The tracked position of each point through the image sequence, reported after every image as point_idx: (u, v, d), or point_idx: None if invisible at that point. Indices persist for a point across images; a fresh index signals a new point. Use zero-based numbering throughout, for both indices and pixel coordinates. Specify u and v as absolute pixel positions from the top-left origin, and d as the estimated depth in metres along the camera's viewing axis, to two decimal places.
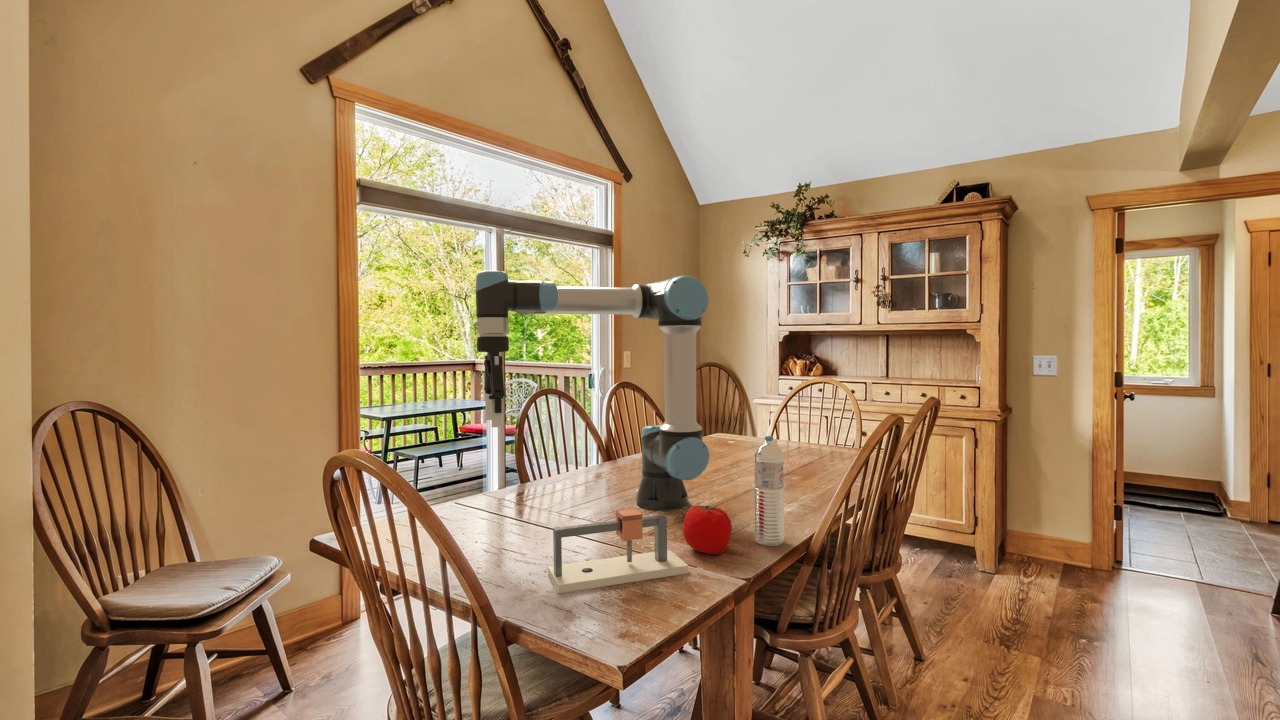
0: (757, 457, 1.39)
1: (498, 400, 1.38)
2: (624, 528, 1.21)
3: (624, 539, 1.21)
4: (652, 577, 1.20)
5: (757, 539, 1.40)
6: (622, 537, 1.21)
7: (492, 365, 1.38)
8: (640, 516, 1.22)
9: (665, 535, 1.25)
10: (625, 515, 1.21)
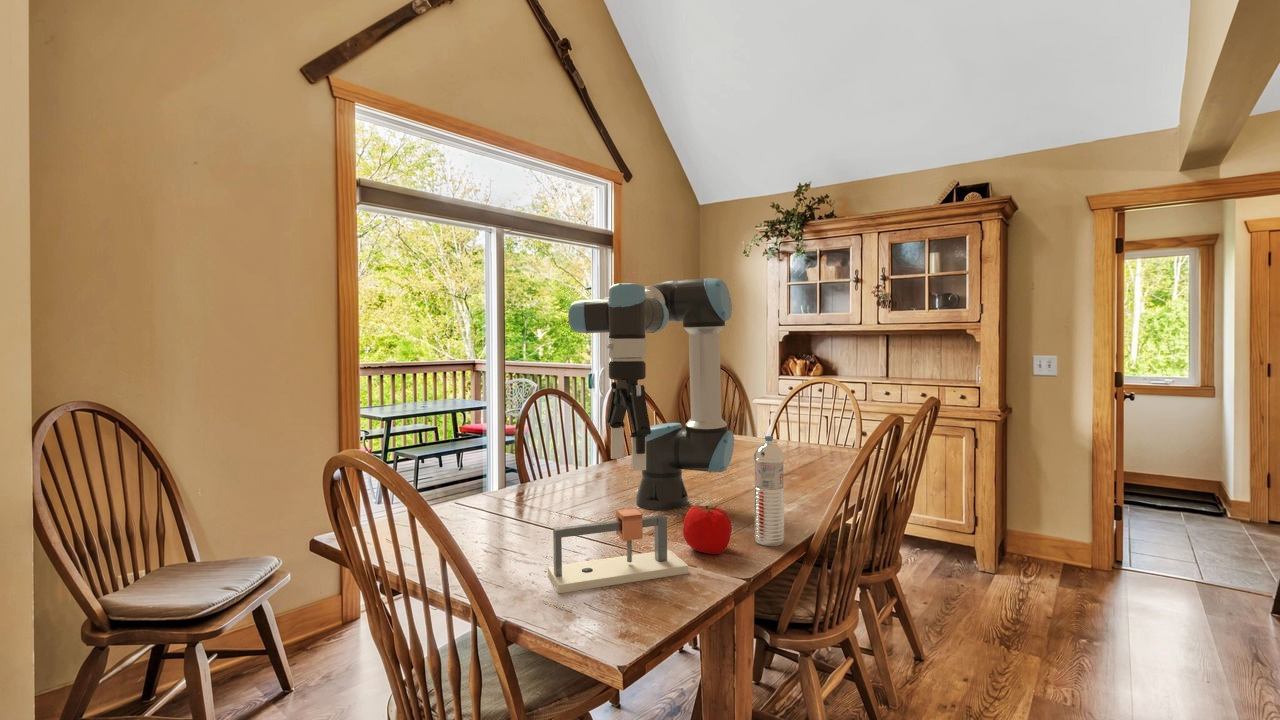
0: (757, 457, 1.39)
1: (642, 438, 1.15)
2: (624, 528, 1.21)
3: (624, 539, 1.21)
4: (652, 577, 1.20)
5: (757, 539, 1.40)
6: (622, 537, 1.21)
7: (634, 396, 1.16)
8: (640, 516, 1.22)
9: (665, 535, 1.25)
10: (625, 515, 1.21)
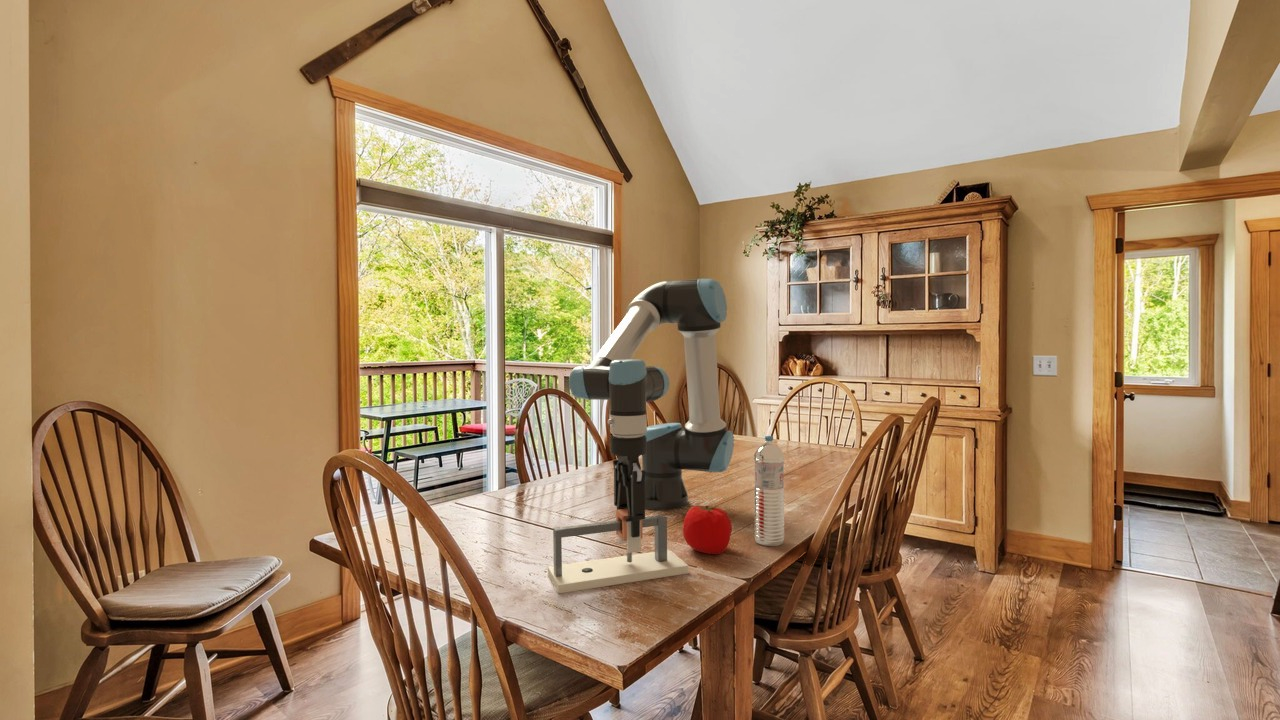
0: (757, 457, 1.39)
1: (636, 522, 1.19)
2: (624, 528, 1.21)
3: (624, 539, 1.21)
4: (652, 577, 1.20)
5: (757, 539, 1.40)
6: (622, 537, 1.21)
7: (634, 483, 1.17)
8: None
9: (665, 535, 1.25)
10: (625, 515, 1.21)
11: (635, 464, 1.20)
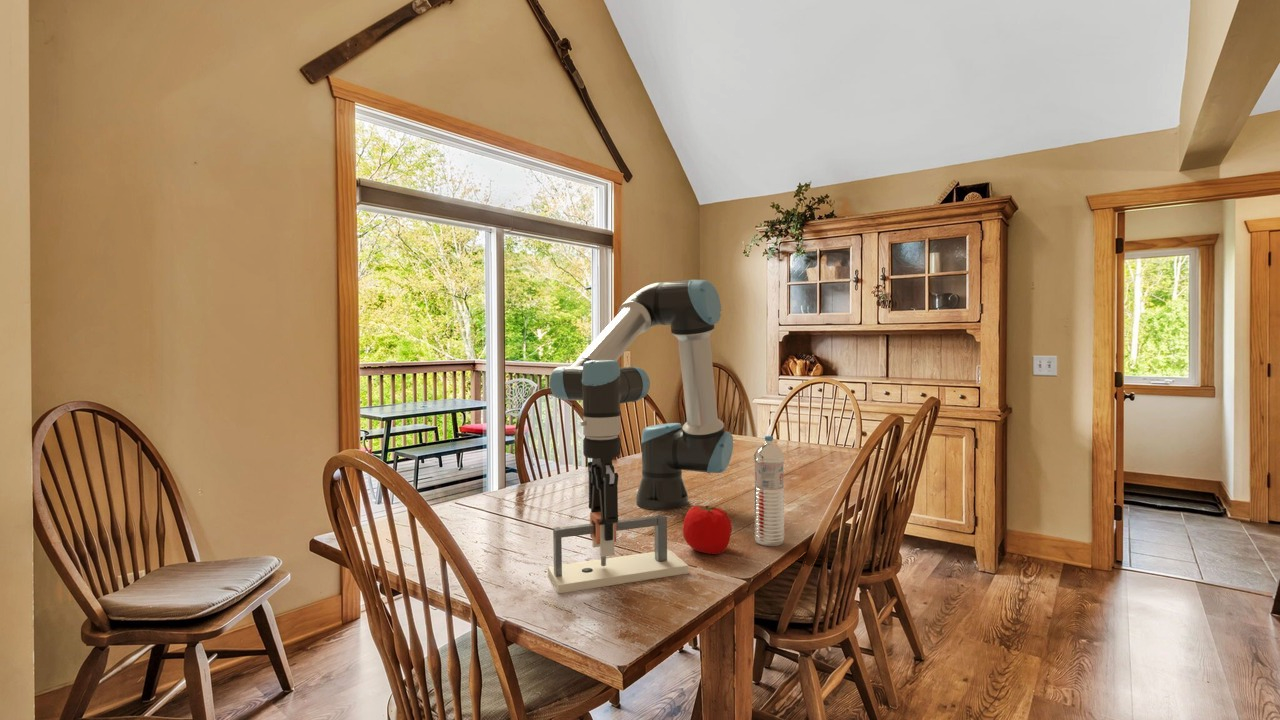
0: (757, 457, 1.39)
1: (609, 526, 1.17)
2: (597, 531, 1.19)
3: (597, 542, 1.19)
4: (652, 577, 1.20)
5: (757, 539, 1.40)
6: (595, 540, 1.20)
7: (606, 485, 1.15)
8: None
9: (665, 535, 1.25)
10: (598, 518, 1.19)
11: (608, 466, 1.18)
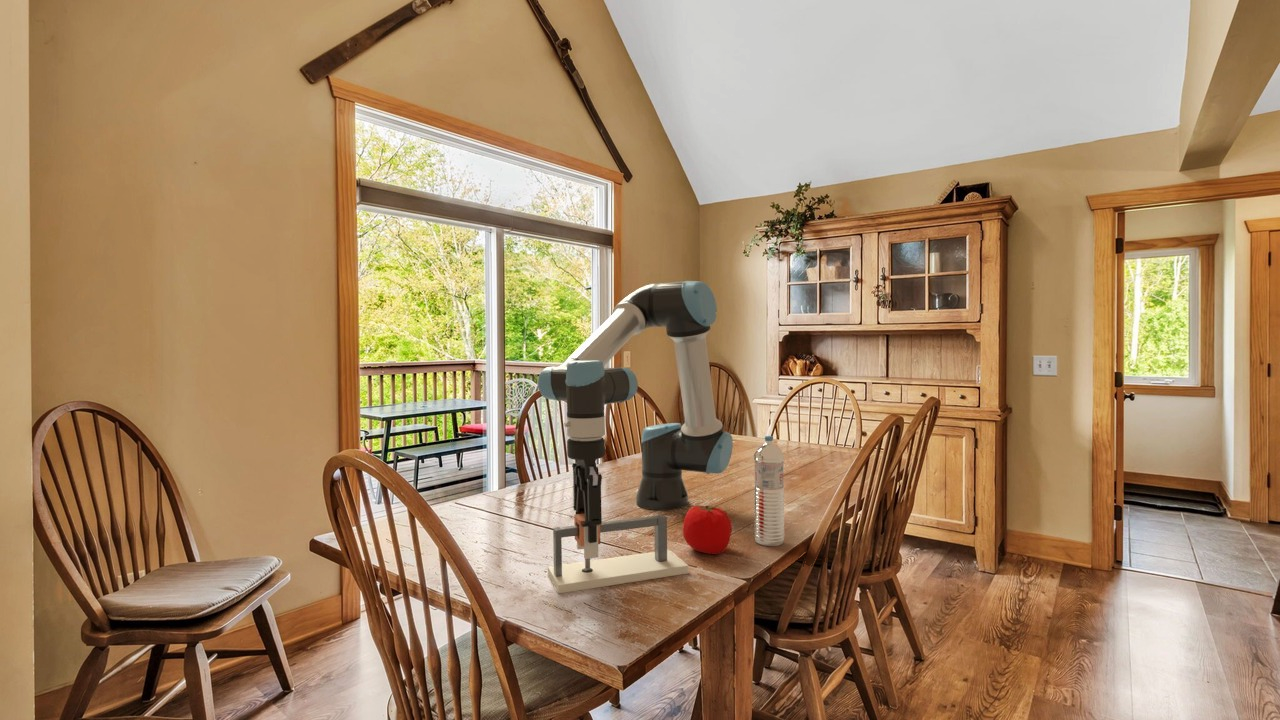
0: (757, 457, 1.39)
1: (593, 528, 1.16)
2: (581, 533, 1.18)
3: (581, 545, 1.18)
4: (652, 577, 1.20)
5: (757, 539, 1.40)
6: (579, 542, 1.18)
7: (590, 487, 1.14)
8: None
9: (665, 535, 1.25)
10: (582, 520, 1.18)
11: (592, 468, 1.17)
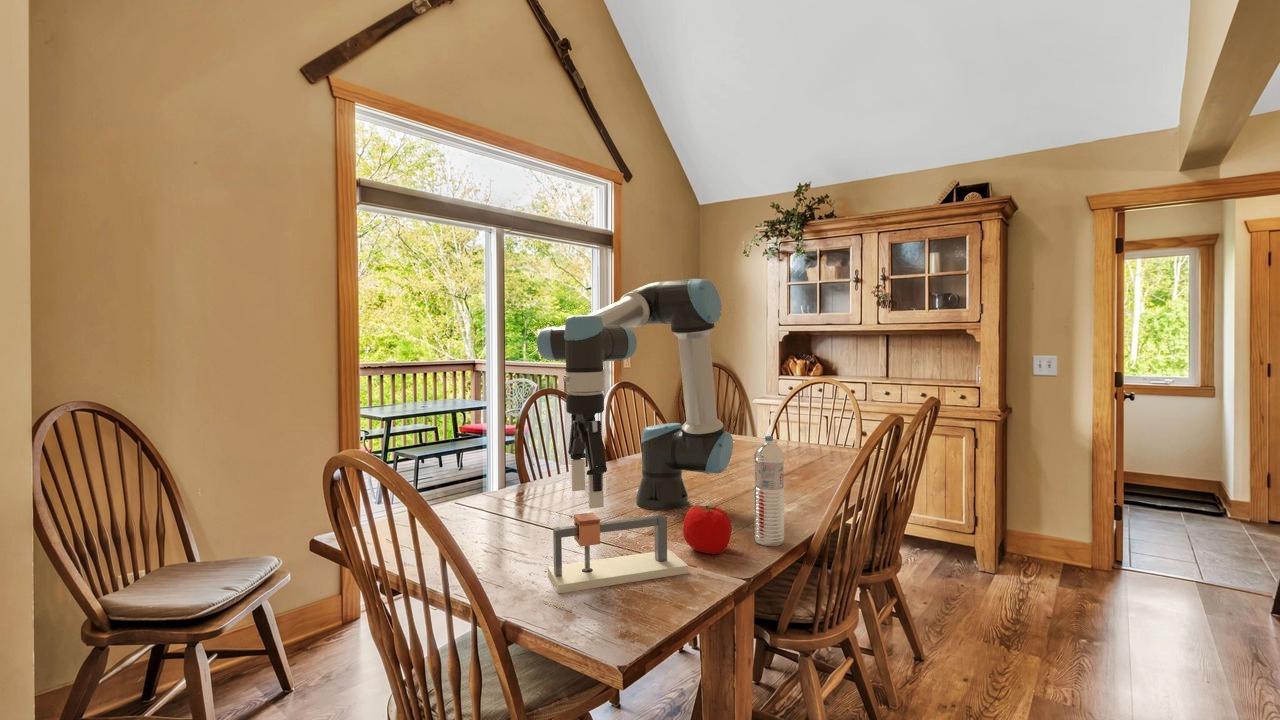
0: (757, 457, 1.39)
1: (598, 476, 1.12)
2: (581, 533, 1.18)
3: (581, 545, 1.18)
4: (652, 577, 1.20)
5: (757, 539, 1.40)
6: (579, 543, 1.18)
7: (590, 433, 1.13)
8: (597, 521, 1.19)
9: (665, 535, 1.25)
10: (582, 520, 1.18)
11: (591, 421, 1.17)
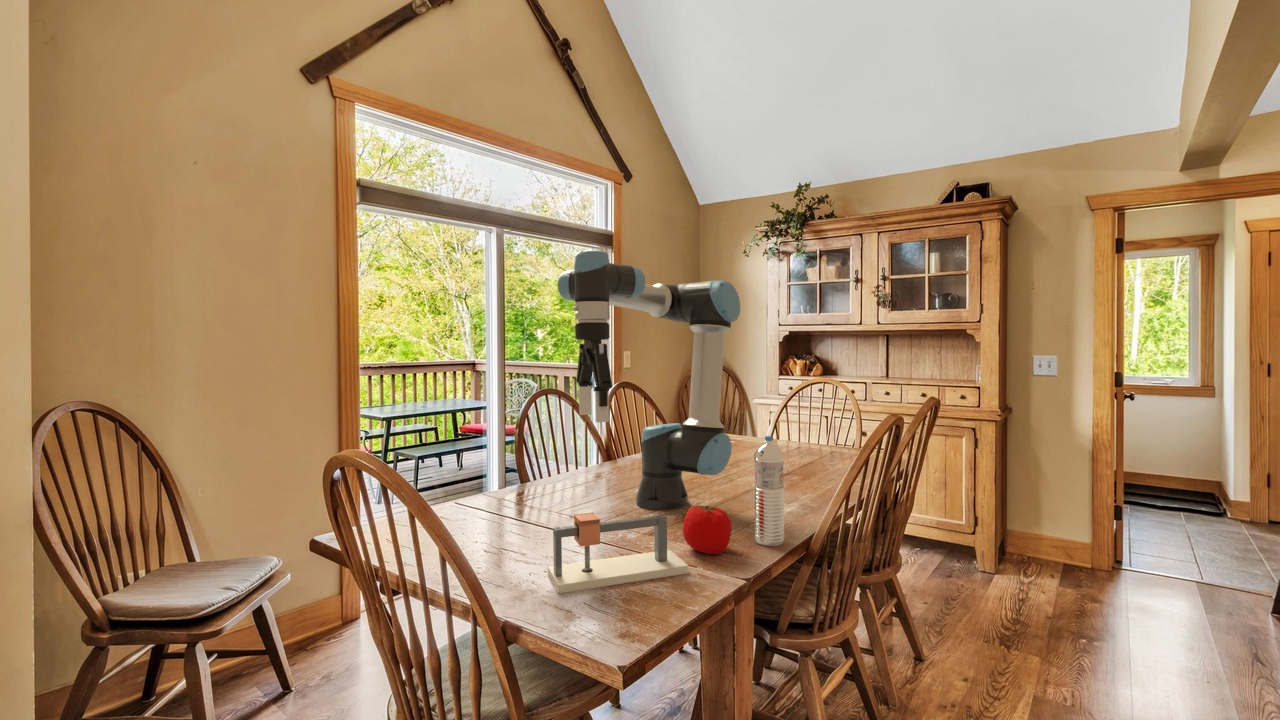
0: (757, 457, 1.39)
1: (604, 392, 1.25)
2: (581, 533, 1.18)
3: (581, 545, 1.18)
4: (652, 577, 1.20)
5: (757, 539, 1.40)
6: (579, 543, 1.18)
7: (597, 354, 1.25)
8: (597, 521, 1.19)
9: (665, 535, 1.25)
10: (582, 520, 1.18)
11: None
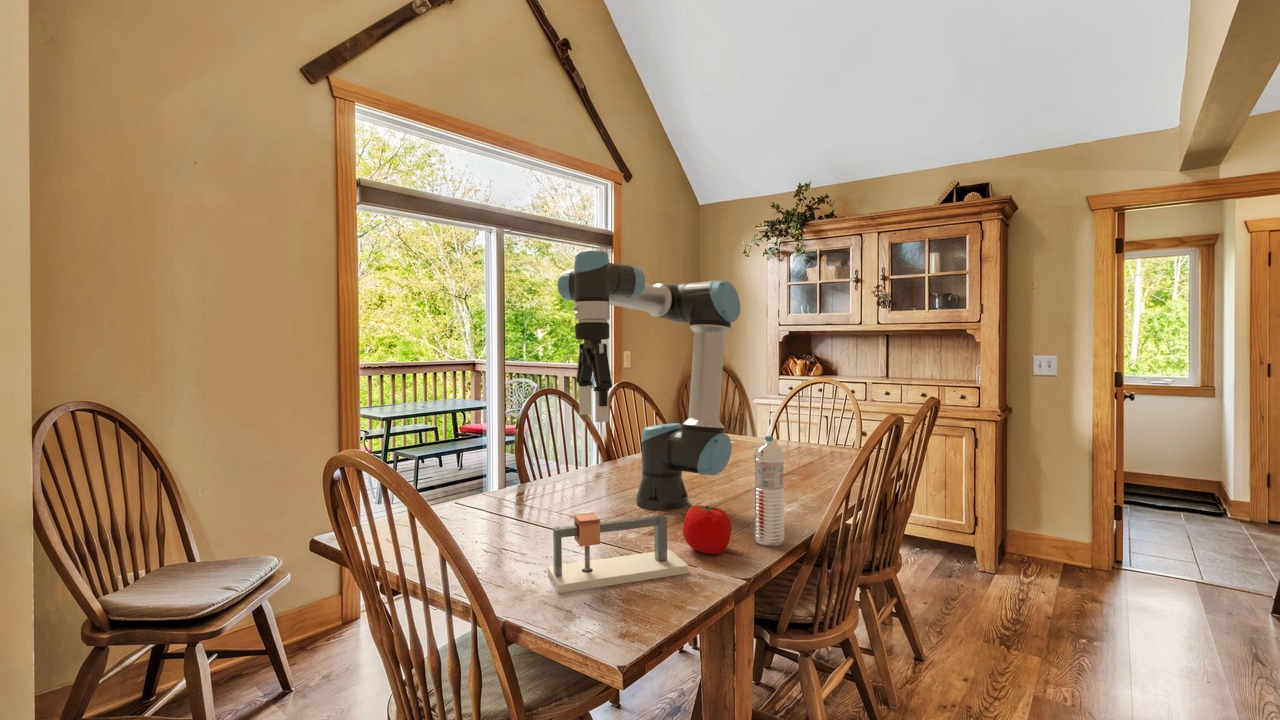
0: (757, 457, 1.39)
1: (604, 392, 1.25)
2: (581, 533, 1.18)
3: (581, 545, 1.18)
4: (652, 577, 1.20)
5: (757, 539, 1.40)
6: (579, 543, 1.18)
7: (597, 354, 1.25)
8: (597, 521, 1.19)
9: (665, 535, 1.25)
10: (582, 520, 1.18)
11: None
